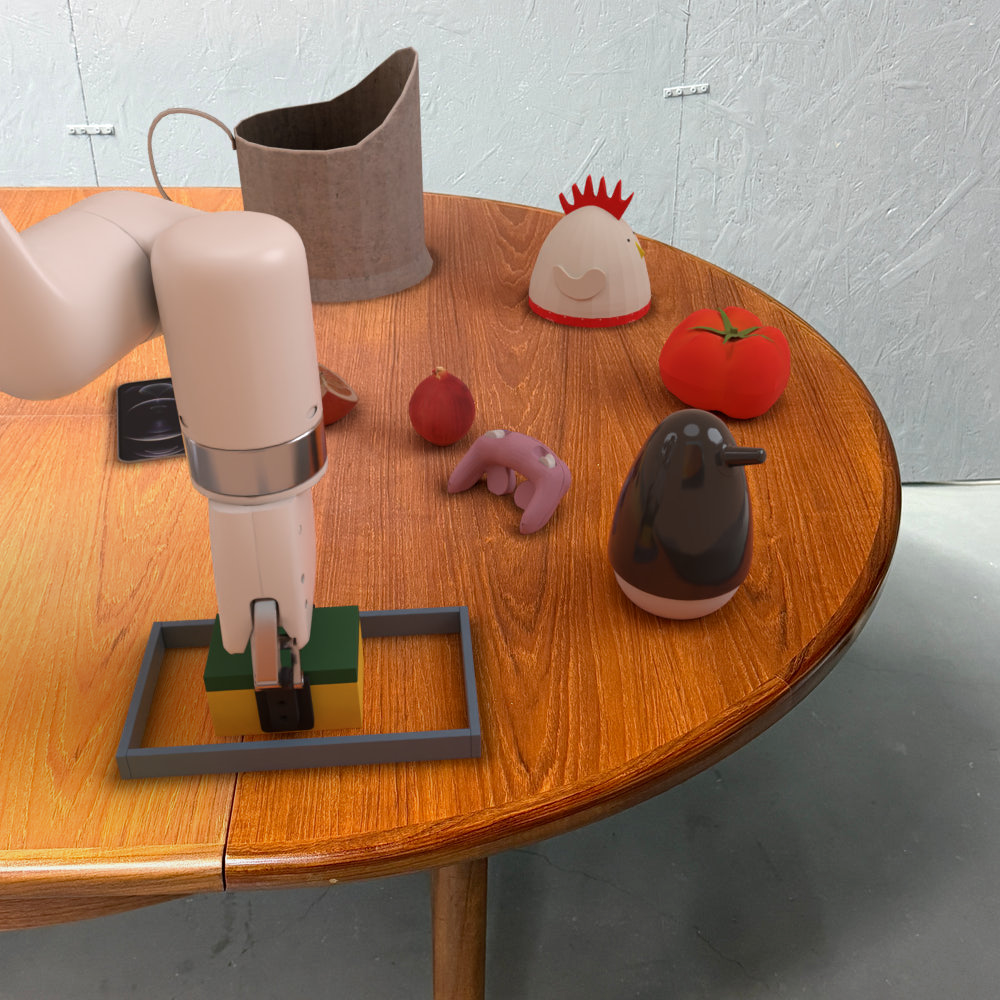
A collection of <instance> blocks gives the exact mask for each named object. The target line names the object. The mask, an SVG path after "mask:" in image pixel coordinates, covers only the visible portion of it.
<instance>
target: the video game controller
mask: <svg viewBox="0 0 1000 1000" xmlns="http://www.w3.org/2000/svg"><path fill="white" fill-rule="evenodd" d="M516 473H517V474H519V475H521V476H523V477H524V478H525V479H526V480H524V481H522V482H520V483H519V485H518V486H517V477H516ZM485 474H486V485H487V489H488V491H489V492H490V493H492V494H494V495H497V496H504V495H508V494H512V493H514V495H513V500H514V503H515V505H516V507H518V508H520V509H522V510H524V512H523V514H522V516H521V518H520V521H519V532H520V534H521V535H530V534H534V533H536V532H538V531H540V530H541V529H542V528H544V526H546V524H547V523H548V522H549V521H550V519H551V518H552V516H553V515H554V514H555V512H556V510H557V507H558V506H559V504H560V502H561V500H562V498H563V497H564V496H566V495H567V493H568V492H569V490H570V488H571V485H572V473H571V470H570V468H569V466H568V465H567V463H566V462H565V461H563V460H562V459H560V458H559V457H558V456H557V454H556V453H555V452H554V451H553V450H552V449H551V448H550V447H548V446H547V444H545V443H543V441H541V440H539V439H537V438H535V437H534V436H531V435H528V434H525V433H522V432H518V431H512V430H508V429H502V428H501V429H492V430H486V431H485V433H484V434H482V435H480V436H478V437H477V439H475V440H474V442H473V443H472V444H471V446H470V447H469V449H468V450H467V451H466V453H465V454H464V455H463V457H462V458H461V459H460V461H459V463H457V464H456V466H455V467H454V469H453V470H452V472H451V474H450V475H449V479H448V481H447V492H448V493H449V494H451V495H452V494H457V493H460V492H464V491H467V490H469V489H471V488H472V487H474V486H475V485H476V484H477V482H478V481H480V479H481V478H482V477H483V476H484V475H485ZM516 486H517V487H516ZM515 488H516V489H515Z"/></svg>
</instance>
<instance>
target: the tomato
mask: <svg viewBox="0 0 1000 1000" xmlns="http://www.w3.org/2000/svg"><path fill="white" fill-rule="evenodd" d="M716 308H717V310H715V309H711V308H706V307H703V308H701V309H698V310H695V311H693V312H692V313H690V314H689V315H688V316H687V317H685V318H684V319H683V320H682V321H681V322H680V323H679V324H678V325H677V326H676V327H674V328H673V330H672V331H671V333H670V334H669V336H668V338H667V339H666V340H665V343H664V345H663V346H662V349H661V352H660V354H659V358H658V369H659V375H660V377H661V378H660V379H661V381H662V382H663V384H664V387H665V388H666V390H667V391H669V392H670V393H671V394H672V395H674V396H675V397H676V398H677V399H678V400H679V401H681V403H684V404H685V405H687V406H690V407H691V408H694V409H701V410H705V411H708V412H710V411H718V412H721V413H722V414H724V415H725V416H727V417H729V418H732V419H737V420H748V419H752V418H756V417H757V418H758V417H760V416H762V415H764V414H766V413H767V412H768V411H769V410H770V409H771V408H772V406H773V405H774V404H776V402H777V401H778V400H779V398H780V397H781V396H782V394H783V393H784V391H785V390H786V388H787V386H788V383H789V381H790V377H791V354H792V353H791V349H790V346H789V341H788V339H787V338H786V336H785V335H784V333H783V332H782V331H781V329H779V328H778V327H776V326H771V325H765V326H764V325H763V323H762V321H761V320H760V319H759V317H758V316H757V315H756V314H754V313H752V312H751V311H749V310H748V309H746V308H744V307H739V306H735V305H729V306H726V307H725V308H723V309H721V308H719V307H718V306H716Z"/></svg>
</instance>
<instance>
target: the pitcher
mask: <svg viewBox="0 0 1000 1000" xmlns="http://www.w3.org/2000/svg"><path fill="white" fill-rule="evenodd" d="M419 63H420V62H419V52H418V51H417V50H416V49H415V48H414V47H413V46H407V47H403V48H399V49H396V50H395V51H394V52H393V53H391V54H390V55H389V56H388V57H387V58H386V59H384V60H383V61H382V62H381V63H379V65H377V66H376V67H375V68H374V69H373V70H372V71H370V72H369V73H368V74H367V75H366V76H364V77H363V78H362V79H361V80H360V81H359V82H358V83H357V84H355V85H354V86H352V87H350V88H349V89H347V90H345V91H344V92H342V93H339V94H338V95H336V96H334V97H333V98H331V99H329V100H323V101H316V102H312V103H305V104H297V105H290V106H284V107H277V108H272V109H269V110H265V111H261V112H256V113H254V114H252V115H250V116H247V117H245V118H242V119H241V120H240V121H238V123H236V125H234V127H233V133H232V131H231V130H230V128H229V127H228V126H226V124H225V123H224V122H222V121H221V120H219V118H217V117H215V116H214V115H211V114H210V113H207V112H204V111H202V110H199V109H194V108H190V107H170V108H166V109H164V110H162V111H160V112H159V113H158V114H157V115H156V116H155V118H153V120H152V122H151V124H150V126H149V128H148V132H147V133H148V134H147V154H148V160H149V165H150V170H151V173H152V178H153V181H154V183H155V186H156V188H157V190H158V192H159V194H160V195H161V198H163V199H166V200H169V201H172V202H174V201H173V200H172V199H171V198H170V197H169V196H168V194H167V193H166V190H164V188H163V185H162V184H161V181H160V179H159V175H158V172H157V169H156V165H155V160H154V159H155V158H154V155H153V147H152V146H153V145H152V144H153V143H152V140H153V135H154V131H155V130H156V129H155V128H156V127H157V125H158V123H160V121H161V120H162V119H163V118H165V117H167V116H169V115H174V114H187V115H188V114H189V115H193V116H197V117H201V118H203V119H206V120H208V121H210V122H212V123H214V124H215V125H216V126H218V127H219V128H221V129H222V130H223V131H224V133H226V134H227V135H228V138H229V140H230V142H231V148H232V151H235V152H236V159H237V166H238V167H237V168H238V173H239V174H238V175H239V180H240V181H239V182H240V189H241V197H242V205H243V211H251V212H258V213H265V214H269V215H273V216H276V217H278V218H280V219H282V220H284V221H285V222H287V223H289V224H290V225H291V226H292V227H293V228H294V229H295V230H296V231H297V232H298V234H299V236H300V238H301V240H302V242H303V245H304V247H305V252H306V259H307V265H308V274H309V284H310V293H311V303H345V302H347V303H348V302H354V301H365V300H372V299H377V298H381V297H385V296H388V295H393V294H398V293H400V292H402V291H404V290H406V289H409V288H411V287H414V286H416V285H418V284H420V283H421V282H422V281H423V280H424V279H426V278H427V277H428V276H429V275H430V274H431V272H432V269H433V265H434V261H433V258H432V256H431V254H430V252H429V249H428V247H427V244H426V234H425V207H424V206H425V205H424V202H425V201H424V177H423V176H424V175H423V149H422V123H421V120H422V119H421V118H422V117H421V99H420V98H421V97H420V95H421V93H420V67H419Z"/></svg>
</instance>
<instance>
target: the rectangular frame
mask: <svg viewBox="0 0 1000 1000" xmlns="http://www.w3.org/2000/svg"><path fill="white" fill-rule="evenodd" d="M359 617H360V627H361V637H362V639H367V638H386V637H388V638H389V637H404V636H423V635H424V636H425V635H442V634H443V635H444V634H459V636H460V637H459V638H460V647H461V648H460V649H461V659H462V660H461V661H462V670H463V671H462V672H463V683H464V684H463V685H464V695H465V704H466V717H467V728H454V729H437V730H422V731H420V730H419V731H406V732H388V733H374V734H373V733H371V734H356V735H339V736H322V737H307V738H305V737H304V738H289V739H272V740H254V741H241V742H240V741H239V742H238V741H237V742H224V743H223V742H222V743H221V742H220V743H206V744H190V745H173V746H157V747H156V746H155V747H142V748H141V745H142V742H143V738H144V733H145V730H146V725H147V722H148V717H149V713H150V710H151V705H152V702H153V699H154V694H155V690H156V686H157V683H158V679H159V675H160V671H161V667H162V663H163V659H164V655H165V652H166V649H178V648H179V649H181V648H198V647H199V648H200V647H210V642H211V637H212V632H213V628H214V623H215V618H204V619H202V618H201V619H185V620H165V621H164V620H163V621H161V620H160V621H153V622H152V625H151V627H150V628H151V629H150V632H149V636H148V639H147V643H146V646H145V650H144V654H143V658H142V661H141V665H140V667H139V672H138V675H137V678H136V682H135V686H134V690H133V693H132V697H131V701H130V704H129V707H128V710H127V715H126V718H125V722H124V726H123V728H122V731H121V736H120V738H119V743H118V747H117V750H116V753H115V760H116V761H115V762H116V764H117V768H118V771H119V775H120V779H121V780H122V781H123V780H124V781H125V780H141V779H155V778H171V777H173V778H174V777H188V776H189V777H190V776H203V775H204V776H205V775H206V776H207V775H220V774H221V775H222V774H236V773H237V774H238V773H250V772H251V773H252V772H253V773H254V772H268V771H269V772H270V771H281V770H282V771H283V770H284V771H285V770H299V769H315V768H331V767H332V768H333V767H334V768H335V767H344V766H345V767H348V766H364V765H379V764H395V763H397V764H398V763H411V762H413V763H414V762H429V761H444V760H445V761H446V760H458V759H461V760H462V759H471V758H472V759H476V758H481V757H482V733H481V723H480V722H481V721H480V713H479V703H478V702H479V701H478V693H477V684H476V683H477V682H476V673H475V666H474V665H475V664H474V653H473V643H472V634H471V624H470V615H469V606H468V605H460V606H459V605H455V606H438V607H437V606H436V607H435V606H433V607H415V608H399V609H398V608H397V609H396V608H395V609H378V610H362V611H361V610H359Z"/></svg>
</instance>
